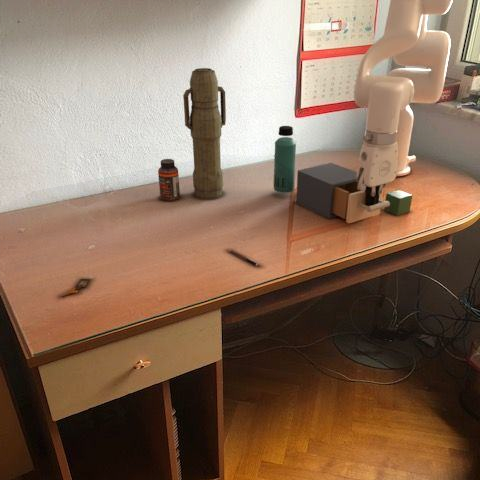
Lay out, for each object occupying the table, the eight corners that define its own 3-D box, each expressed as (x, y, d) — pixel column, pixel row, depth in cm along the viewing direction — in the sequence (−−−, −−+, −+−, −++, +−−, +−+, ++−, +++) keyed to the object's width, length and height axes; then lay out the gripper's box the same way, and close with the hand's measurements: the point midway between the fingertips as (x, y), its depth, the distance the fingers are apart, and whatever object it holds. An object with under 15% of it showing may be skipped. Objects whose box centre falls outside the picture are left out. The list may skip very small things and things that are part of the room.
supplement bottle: (156, 200, 160) (152, 162, 154) (166, 193, 165) (163, 156, 159) (174, 202, 158) (171, 164, 152) (183, 195, 163) (181, 158, 157)
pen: (260, 267, 124) (260, 263, 124) (258, 268, 124) (258, 264, 123) (230, 250, 132) (230, 247, 131) (227, 251, 131) (227, 248, 131)
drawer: (393, 220, 144) (397, 191, 139) (362, 229, 138) (365, 201, 134) (345, 199, 157) (348, 173, 152) (315, 207, 151) (317, 181, 147)
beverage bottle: (294, 190, 166) (297, 123, 155) (294, 198, 160) (297, 129, 149) (273, 190, 166) (275, 123, 155) (272, 197, 161) (274, 129, 150)
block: (396, 206, 154) (398, 189, 151) (409, 211, 151) (412, 194, 148) (383, 210, 152) (386, 193, 149) (397, 215, 148) (400, 198, 146)
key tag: (82, 278, 120) (81, 276, 120) (94, 280, 119) (93, 278, 119) (61, 296, 113) (60, 293, 113) (73, 298, 113) (72, 296, 112)
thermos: (184, 193, 165) (176, 69, 145) (218, 186, 169) (214, 65, 150) (197, 202, 158) (190, 73, 139) (232, 195, 163) (230, 69, 144)
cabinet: (362, 208, 153) (366, 175, 148) (329, 218, 147) (332, 184, 142) (328, 194, 163) (331, 162, 158) (296, 202, 157) (297, 170, 152)
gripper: (369, 145, 125) (360, 219, 135) (413, 136, 132) (401, 206, 142) (347, 138, 130) (340, 210, 140) (390, 129, 137) (380, 198, 147)
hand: (370, 208), depth 141 cm, fingers closed
